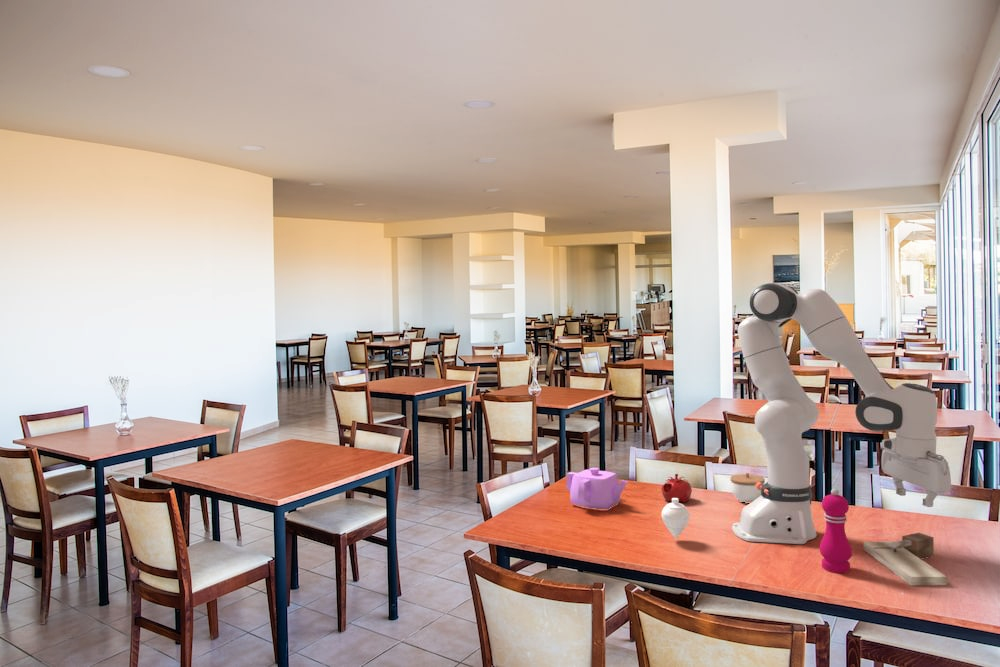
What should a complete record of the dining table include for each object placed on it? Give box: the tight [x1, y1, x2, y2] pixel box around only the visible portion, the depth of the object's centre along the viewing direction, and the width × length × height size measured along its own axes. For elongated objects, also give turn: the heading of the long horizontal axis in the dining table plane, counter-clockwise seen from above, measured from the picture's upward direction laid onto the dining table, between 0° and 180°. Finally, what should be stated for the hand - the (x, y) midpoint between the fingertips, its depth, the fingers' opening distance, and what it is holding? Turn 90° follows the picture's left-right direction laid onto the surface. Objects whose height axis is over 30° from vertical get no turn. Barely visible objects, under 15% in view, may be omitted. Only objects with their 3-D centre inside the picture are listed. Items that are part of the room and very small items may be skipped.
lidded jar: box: [730, 472, 766, 502], centre depth 226 cm, size 11×11×9 cm
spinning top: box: [661, 498, 691, 541], centre depth 191 cm, size 8×8×12 cm
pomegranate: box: [661, 473, 693, 503], centre depth 229 cm, size 10×10×9 cm
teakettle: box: [566, 467, 628, 510], centre depth 228 cm, size 17×17×12 cm
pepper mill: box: [819, 488, 853, 574], centre depth 168 cm, size 7×7×20 cm
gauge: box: [890, 532, 935, 560], centre depth 174 cm, size 12×4×5 cm, turn 110°
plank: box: [863, 541, 948, 586], centre depth 168 cm, size 8×23×2 cm, turn 177°
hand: (913, 500), depth 174 cm, fingers open, 8 cm apart
